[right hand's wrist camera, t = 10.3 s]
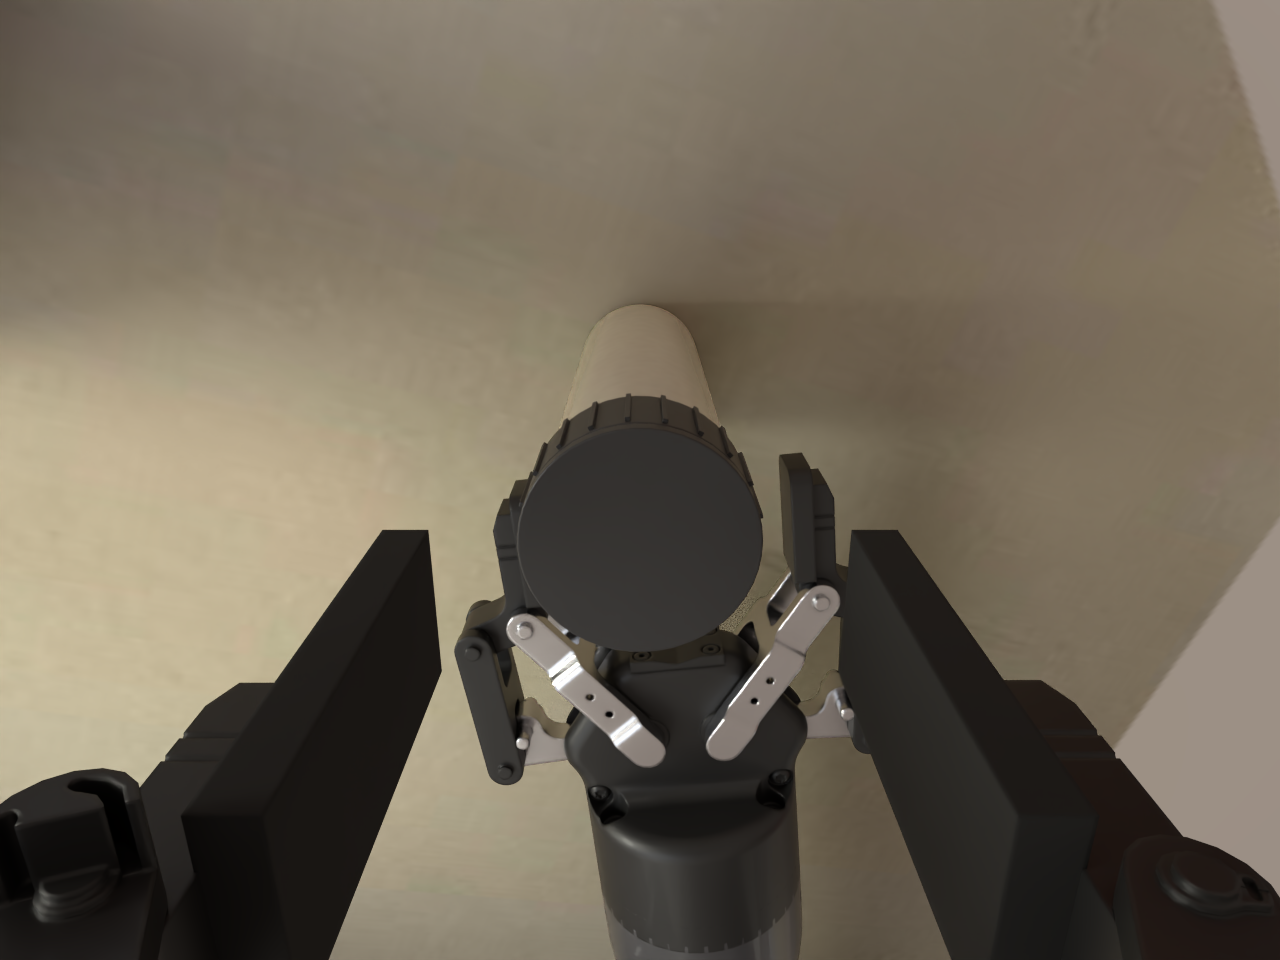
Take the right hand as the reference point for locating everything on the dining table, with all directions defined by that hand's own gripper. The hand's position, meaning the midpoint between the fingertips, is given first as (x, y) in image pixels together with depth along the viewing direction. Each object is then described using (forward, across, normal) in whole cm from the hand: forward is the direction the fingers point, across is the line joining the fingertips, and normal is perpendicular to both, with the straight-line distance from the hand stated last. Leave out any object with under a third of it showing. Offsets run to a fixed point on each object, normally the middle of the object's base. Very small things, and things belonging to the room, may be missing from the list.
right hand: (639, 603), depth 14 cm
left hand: (+12, -1, +2) cm, 12 cm away
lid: (+3, 0, 0) cm, 3 cm away
